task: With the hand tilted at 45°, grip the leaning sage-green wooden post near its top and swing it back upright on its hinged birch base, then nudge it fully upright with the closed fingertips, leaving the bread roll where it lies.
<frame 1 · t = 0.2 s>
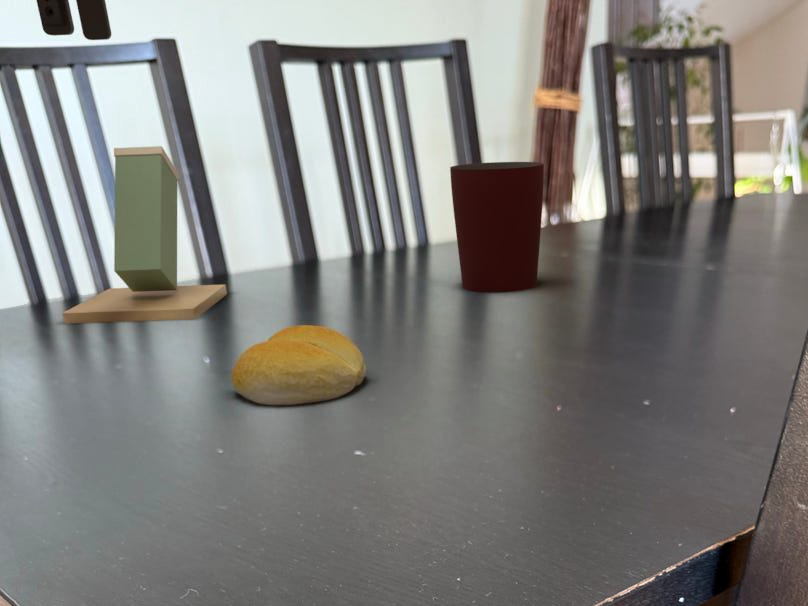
hand: (80, 37, 77), 22 cm above the table, tool pointing down, fingers open, 8 cm apart
post base: (151, 310, 91), on the table
bread roll: (302, 393, 64), on the table
mug: (502, 287, 96), on the table
post: (146, 220, 90), point 8 cm above the table, hinge at 35.0°
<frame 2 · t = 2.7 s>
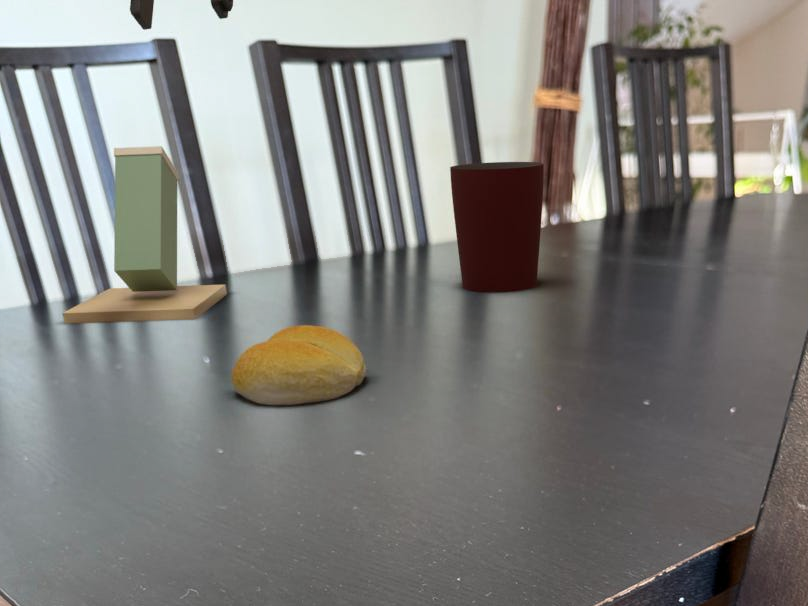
hand: (180, 17, 94), 25 cm above the table, tool tilted 40°, fingers open, 8 cm apart
nothing on the table moved.
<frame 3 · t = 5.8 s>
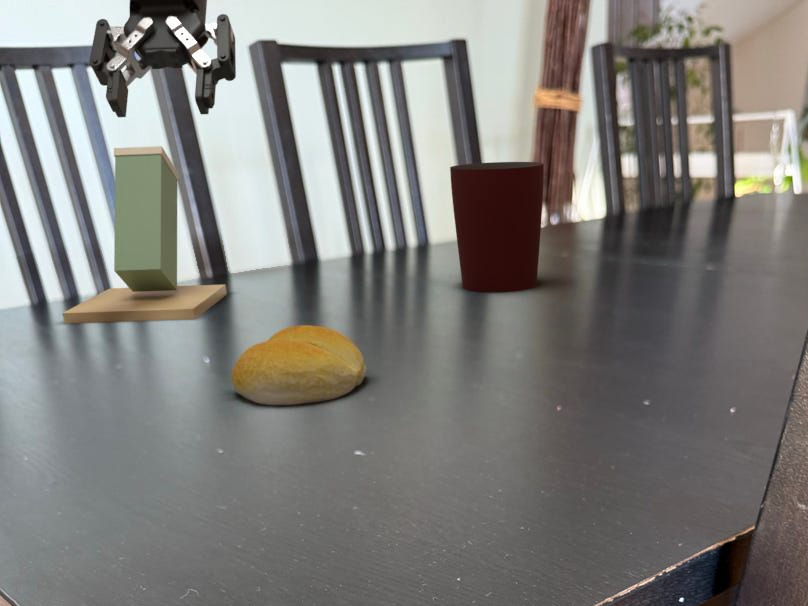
hand: (159, 109, 95), 17 cm above the table, tool tilted 45°, fingers open, 8 cm apart
nothing on the table moved.
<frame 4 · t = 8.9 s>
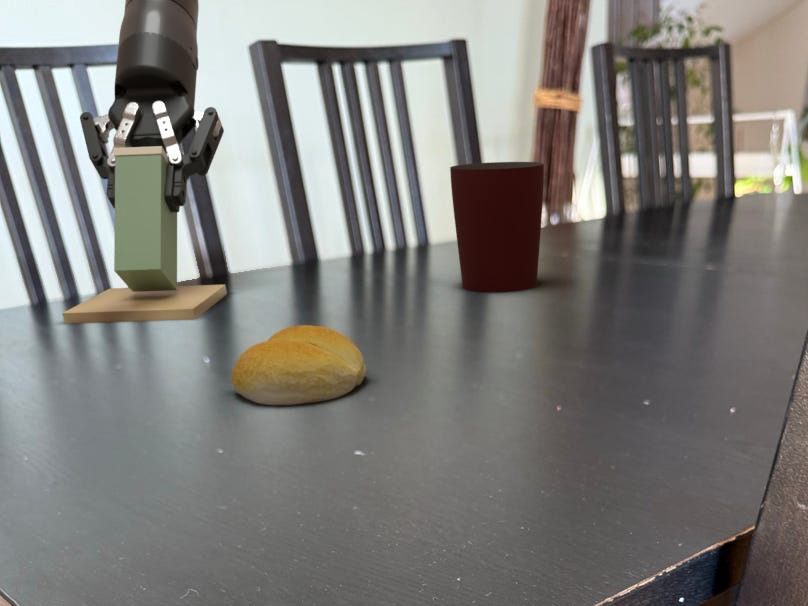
hand: (145, 206, 90), 9 cm above the table, tool tilted 45°, fingers closed on post, 4 cm apart
post: (146, 220, 90), point 8 cm above the table, hinge at 35.0°, touching gripper
everything else where it was.
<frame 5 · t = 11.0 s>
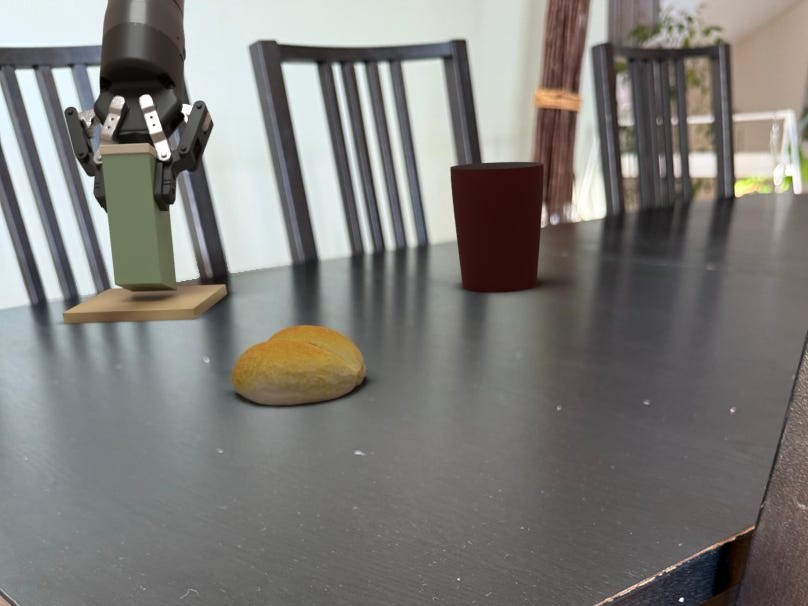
hand: (134, 205, 87), 9 cm above the table, tool tilted 45°, fingers closed on post, 4 cm apart
post: (140, 220, 88), point 8 cm above the table, hinge at 18.4°, touching gripper
everything else where it was.
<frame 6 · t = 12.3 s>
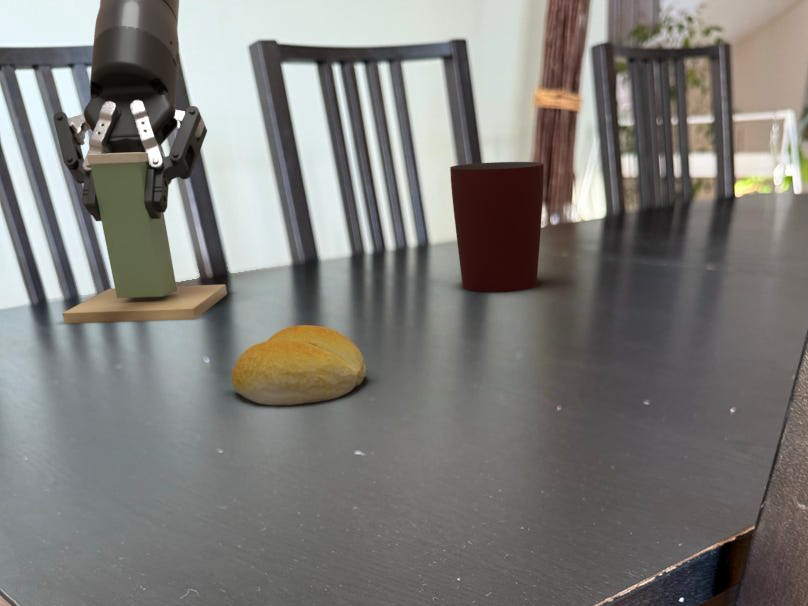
hand: (124, 213, 85), 9 cm above the table, tool tilted 45°, fingers open, 4 cm apart
post: (134, 226, 87), point 8 cm above the table, hinge at 3.2°
everything else where it was.
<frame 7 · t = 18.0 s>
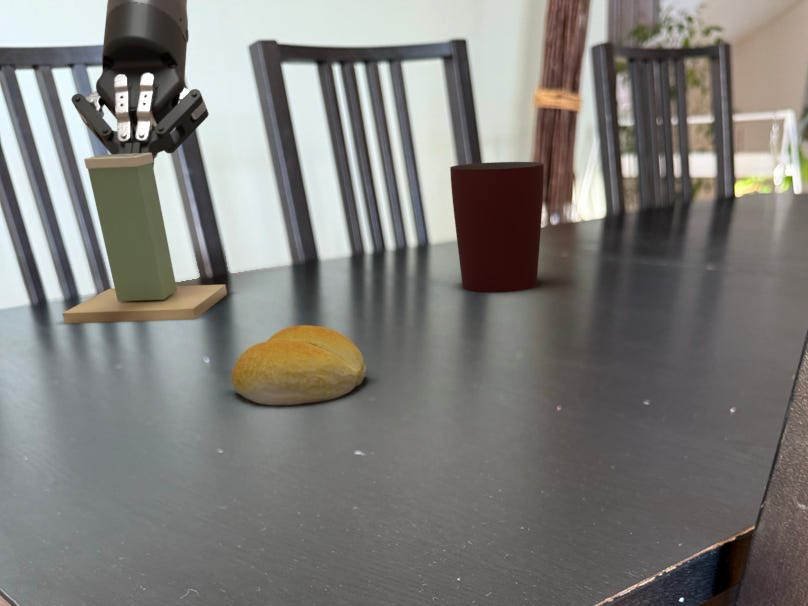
hand: (134, 184, 87), 11 cm above the table, tool tilted 45°, fingers closed
post: (133, 228, 87), point 7 cm above the table, hinge at -0.7°, touching gripper
everything else where it was.
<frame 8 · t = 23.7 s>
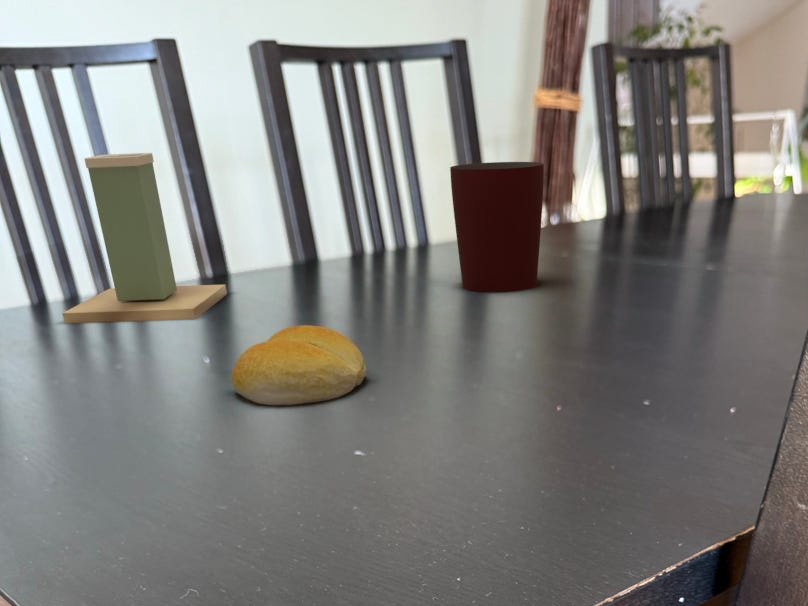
post: (133, 227, 87), point 7 cm above the table, hinge at -0.3°
everything else where it was.
at the end: post at +0° (first picture: +35°); bread roll moved 0.2 cm from its start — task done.
